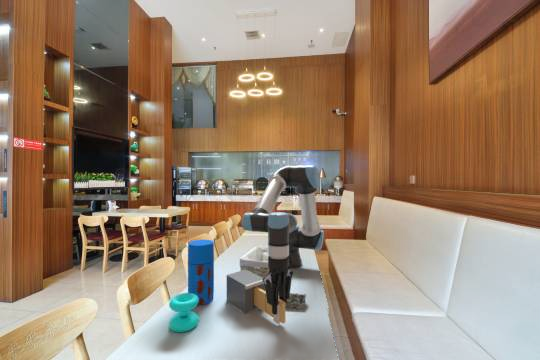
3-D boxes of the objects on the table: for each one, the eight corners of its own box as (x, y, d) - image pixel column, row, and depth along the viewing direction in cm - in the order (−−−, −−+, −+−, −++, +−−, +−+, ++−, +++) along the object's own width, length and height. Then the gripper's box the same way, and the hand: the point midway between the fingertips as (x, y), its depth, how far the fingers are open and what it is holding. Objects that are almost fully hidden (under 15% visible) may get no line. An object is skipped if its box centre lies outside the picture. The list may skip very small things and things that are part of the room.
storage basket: (270, 293, 116) (270, 261, 116) (237, 289, 121) (237, 258, 121) (283, 274, 139) (283, 247, 139) (255, 271, 144) (255, 245, 144)
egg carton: (278, 307, 104) (278, 297, 104) (283, 298, 112) (283, 289, 112) (304, 311, 101) (303, 300, 101) (307, 302, 108) (307, 292, 108)
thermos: (191, 294, 115) (191, 239, 115) (215, 293, 116) (215, 239, 116) (185, 306, 104) (185, 246, 104) (211, 305, 105) (211, 245, 105)
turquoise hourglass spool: (170, 293, 94) (198, 290, 97) (170, 320, 94) (198, 316, 97) (167, 306, 85) (198, 302, 87) (167, 336, 85) (198, 331, 87)
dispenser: (226, 300, 109) (226, 274, 109) (245, 293, 115) (245, 269, 115) (246, 315, 98) (246, 286, 97) (266, 306, 104) (266, 279, 104)
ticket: (246, 300, 105) (246, 283, 105) (249, 299, 106) (249, 282, 106) (282, 323, 88) (282, 303, 88) (285, 322, 89) (285, 302, 89)
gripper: (285, 250, 98) (285, 310, 99) (256, 257, 89) (256, 323, 89) (299, 254, 93) (299, 318, 93) (270, 262, 83) (270, 333, 84)
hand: (278, 320), depth 91 cm, fingers closed on ticket
